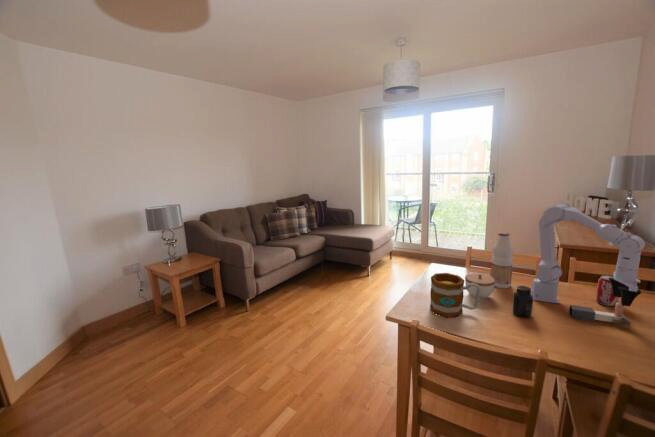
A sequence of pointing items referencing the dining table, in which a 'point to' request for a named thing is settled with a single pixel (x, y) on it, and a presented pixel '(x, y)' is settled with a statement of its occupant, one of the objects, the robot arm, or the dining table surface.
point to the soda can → (605, 292)
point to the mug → (449, 295)
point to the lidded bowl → (480, 284)
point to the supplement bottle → (523, 302)
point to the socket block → (621, 322)
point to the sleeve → (582, 313)
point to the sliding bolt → (610, 314)
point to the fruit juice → (502, 261)
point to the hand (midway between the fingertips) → (621, 300)
